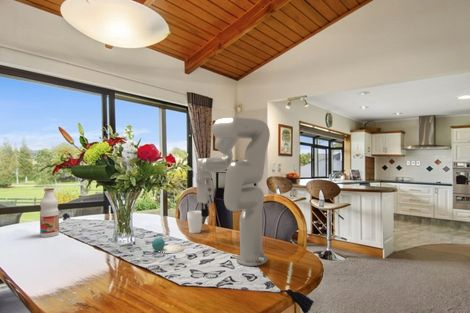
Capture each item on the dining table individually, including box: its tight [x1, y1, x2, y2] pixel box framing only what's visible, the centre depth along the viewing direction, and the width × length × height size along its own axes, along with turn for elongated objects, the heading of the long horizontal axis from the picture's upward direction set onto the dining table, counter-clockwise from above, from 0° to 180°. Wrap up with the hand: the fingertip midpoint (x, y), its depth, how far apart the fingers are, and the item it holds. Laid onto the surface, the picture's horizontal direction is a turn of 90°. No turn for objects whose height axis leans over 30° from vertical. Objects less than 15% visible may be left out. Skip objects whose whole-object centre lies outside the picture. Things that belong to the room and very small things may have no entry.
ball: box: [151, 237, 166, 252], centre depth 137 cm, size 6×6×6 cm
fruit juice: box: [39, 187, 60, 238], centre depth 170 cm, size 9×9×28 cm
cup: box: [186, 210, 203, 234], centre depth 171 cm, size 9×9×12 cm
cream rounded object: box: [157, 244, 185, 254], centre depth 139 cm, size 13×13×1 cm
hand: (204, 216), depth 151 cm, fingers closed
